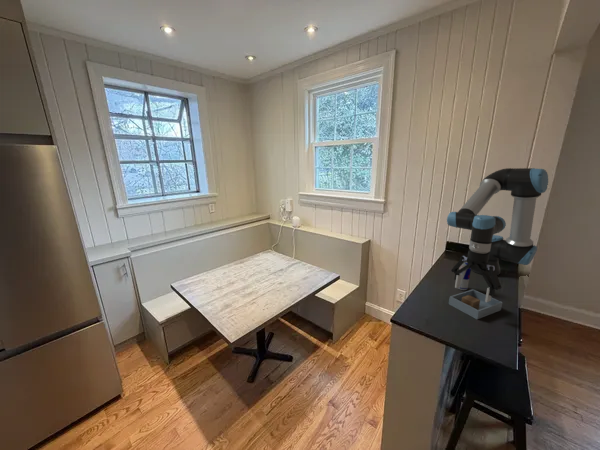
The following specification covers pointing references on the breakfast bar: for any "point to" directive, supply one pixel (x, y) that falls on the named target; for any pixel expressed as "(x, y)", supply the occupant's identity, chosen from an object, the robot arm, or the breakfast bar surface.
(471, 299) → the walnut cube
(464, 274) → the beverage can
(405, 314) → the breakfast bar surface
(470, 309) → the tote
